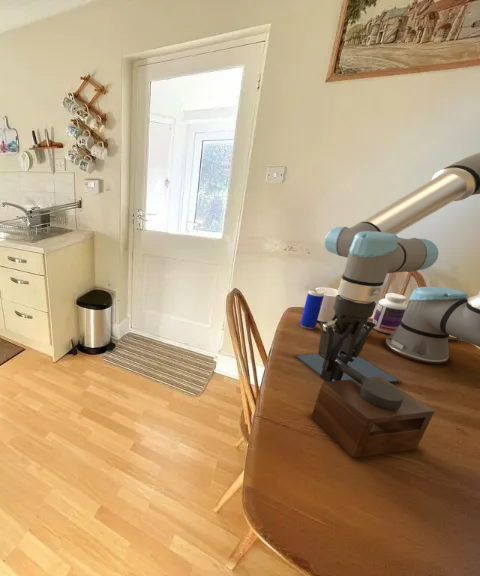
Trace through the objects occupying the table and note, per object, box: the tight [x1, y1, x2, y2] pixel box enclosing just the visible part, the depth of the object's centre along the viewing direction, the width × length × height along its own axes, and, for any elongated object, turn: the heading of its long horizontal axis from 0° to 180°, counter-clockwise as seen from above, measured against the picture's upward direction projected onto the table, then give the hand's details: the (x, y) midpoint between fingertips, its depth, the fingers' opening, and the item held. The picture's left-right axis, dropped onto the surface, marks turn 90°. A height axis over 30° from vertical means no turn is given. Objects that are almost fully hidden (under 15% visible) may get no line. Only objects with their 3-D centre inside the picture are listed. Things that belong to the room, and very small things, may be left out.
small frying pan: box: [336, 358, 404, 410], centre depth 75 cm, size 7×20×3 cm, turn 8°
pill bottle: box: [371, 292, 408, 335], centre depth 119 cm, size 8×8×14 cm
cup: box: [314, 287, 339, 324], centre depth 127 cm, size 10×10×13 cm
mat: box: [296, 353, 399, 384], centre depth 98 cm, size 20×16×1 cm
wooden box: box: [310, 376, 436, 459], centre depth 73 cm, size 16×12×11 cm
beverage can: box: [299, 288, 324, 330], centre depth 122 cm, size 5×5×15 cm
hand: (330, 379), depth 82 cm, fingers closed on small frying pan, 2 cm apart
